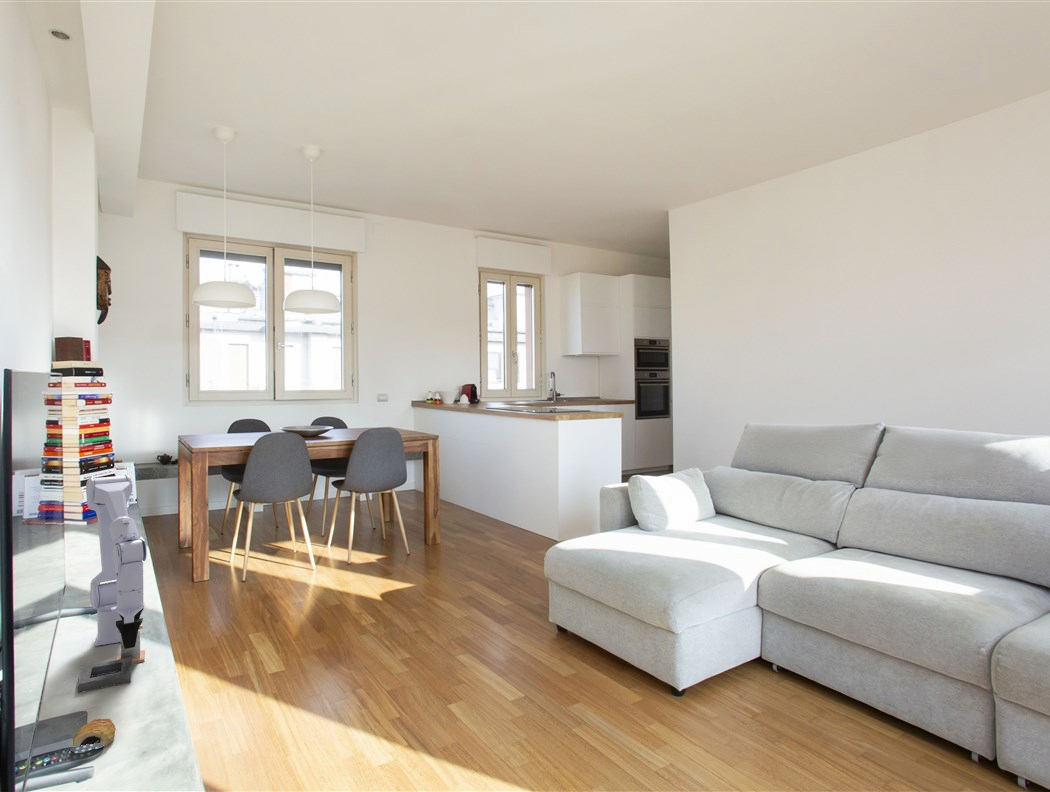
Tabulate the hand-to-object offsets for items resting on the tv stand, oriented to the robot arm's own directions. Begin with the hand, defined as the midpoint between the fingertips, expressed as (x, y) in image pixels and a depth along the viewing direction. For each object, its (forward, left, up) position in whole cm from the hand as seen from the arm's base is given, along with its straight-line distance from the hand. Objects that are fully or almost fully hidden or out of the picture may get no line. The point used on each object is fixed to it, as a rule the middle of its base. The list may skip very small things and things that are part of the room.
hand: (130, 641), depth 157 cm
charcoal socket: (+9, -4, -4) cm, 11 cm away
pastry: (+38, -5, -5) cm, 39 cm away
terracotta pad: (0, 0, -4) cm, 4 cm away
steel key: (0, 0, -4) cm, 4 cm away
